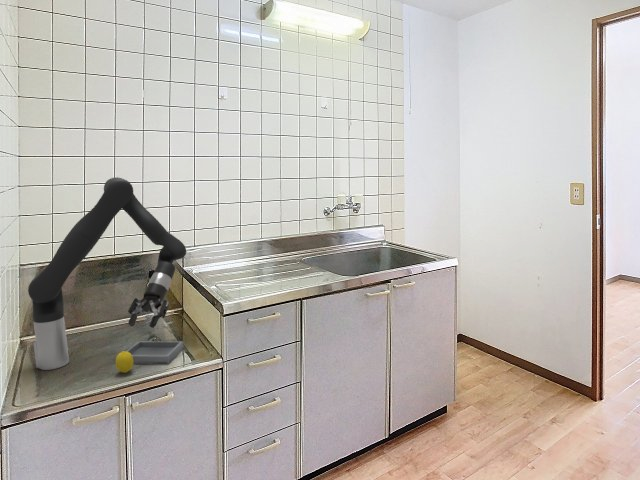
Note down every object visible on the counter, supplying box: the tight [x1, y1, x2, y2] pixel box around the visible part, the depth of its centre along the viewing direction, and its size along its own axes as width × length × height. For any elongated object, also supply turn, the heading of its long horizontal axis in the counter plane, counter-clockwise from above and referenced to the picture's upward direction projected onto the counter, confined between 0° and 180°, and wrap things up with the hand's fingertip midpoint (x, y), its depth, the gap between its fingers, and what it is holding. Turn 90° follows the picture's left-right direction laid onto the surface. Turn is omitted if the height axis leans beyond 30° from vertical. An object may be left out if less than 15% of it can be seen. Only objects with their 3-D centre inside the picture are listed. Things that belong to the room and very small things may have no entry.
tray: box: [125, 340, 185, 366], centre depth 158 cm, size 18×14×3 cm
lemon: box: [115, 350, 134, 374], centre depth 144 cm, size 6×6×8 cm
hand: (141, 326), depth 152 cm, fingers open, 8 cm apart
